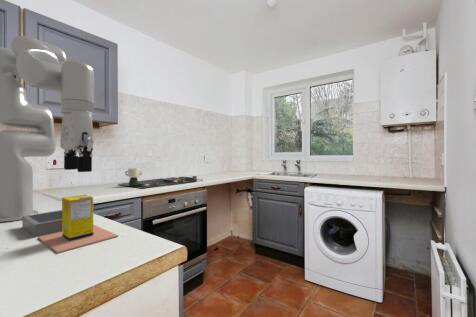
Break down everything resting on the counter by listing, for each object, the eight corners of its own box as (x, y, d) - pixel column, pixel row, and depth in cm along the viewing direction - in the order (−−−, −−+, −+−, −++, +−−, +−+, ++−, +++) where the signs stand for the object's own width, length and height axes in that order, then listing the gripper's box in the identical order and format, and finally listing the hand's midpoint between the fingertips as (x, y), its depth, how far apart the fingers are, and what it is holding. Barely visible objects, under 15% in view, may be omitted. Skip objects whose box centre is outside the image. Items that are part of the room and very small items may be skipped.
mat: (37, 238, 63) (37, 236, 63) (93, 225, 75) (93, 224, 75) (57, 253, 54) (57, 251, 54) (118, 236, 65) (118, 235, 65)
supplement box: (85, 230, 69) (85, 194, 68) (93, 235, 65) (93, 196, 65) (61, 236, 64) (61, 197, 64) (68, 241, 60) (68, 199, 60)
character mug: (142, 185, 172) (142, 168, 172) (141, 186, 165) (141, 168, 165) (126, 185, 169) (126, 168, 168) (124, 187, 162) (124, 168, 162)
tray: (22, 227, 73) (22, 216, 73) (75, 217, 84) (75, 207, 84) (35, 237, 64) (35, 224, 64) (92, 224, 76) (92, 214, 76)
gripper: (51, 109, 66) (50, 169, 66) (74, 103, 56) (73, 173, 56) (81, 113, 72) (80, 168, 72) (106, 108, 62) (106, 172, 62)
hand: (77, 170), depth 64 cm, fingers open, 9 cm apart
